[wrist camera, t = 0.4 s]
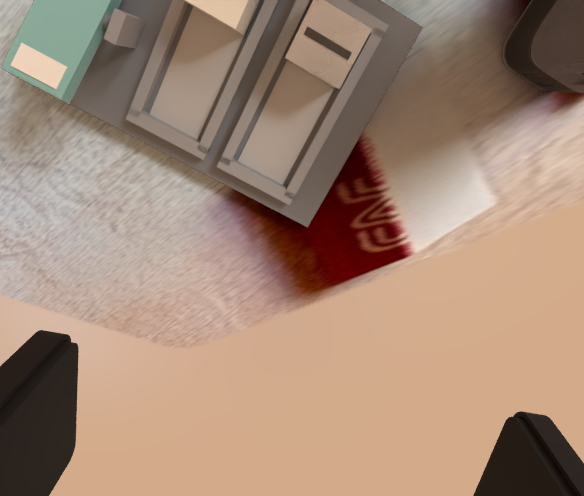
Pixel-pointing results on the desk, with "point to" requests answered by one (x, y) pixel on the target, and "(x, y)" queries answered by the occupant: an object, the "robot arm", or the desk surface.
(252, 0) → the ivory knob
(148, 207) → the desk surface
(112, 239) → the desk surface
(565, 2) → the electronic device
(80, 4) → the teal rocker
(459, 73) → the desk surface
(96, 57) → the panel
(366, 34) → the beige block
